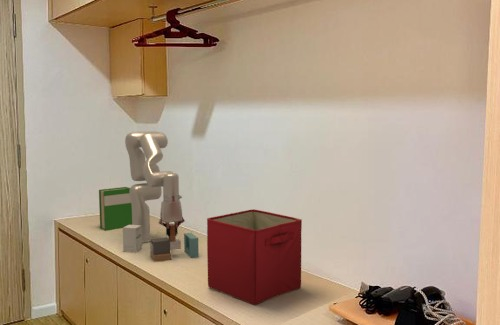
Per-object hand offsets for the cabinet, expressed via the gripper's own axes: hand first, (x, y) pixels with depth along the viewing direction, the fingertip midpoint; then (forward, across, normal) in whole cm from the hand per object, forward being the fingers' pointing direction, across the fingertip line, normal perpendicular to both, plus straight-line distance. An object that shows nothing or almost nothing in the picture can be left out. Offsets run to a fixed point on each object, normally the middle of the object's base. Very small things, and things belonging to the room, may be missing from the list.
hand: (171, 235), depth 252 cm
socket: (+11, -10, 0) cm, 14 cm away
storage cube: (+11, -19, +57) cm, 61 cm away
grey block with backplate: (+11, +6, 0) cm, 12 cm away
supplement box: (+11, +16, -20) cm, 28 cm away
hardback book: (+11, +16, -76) cm, 78 cm away
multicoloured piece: (+7, +3, 0) cm, 7 cm away
